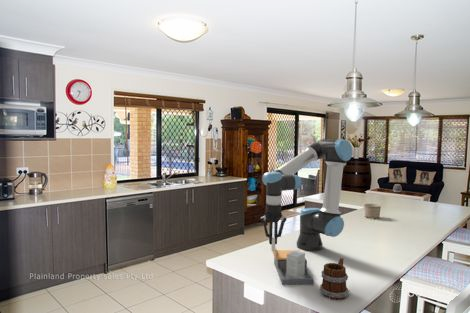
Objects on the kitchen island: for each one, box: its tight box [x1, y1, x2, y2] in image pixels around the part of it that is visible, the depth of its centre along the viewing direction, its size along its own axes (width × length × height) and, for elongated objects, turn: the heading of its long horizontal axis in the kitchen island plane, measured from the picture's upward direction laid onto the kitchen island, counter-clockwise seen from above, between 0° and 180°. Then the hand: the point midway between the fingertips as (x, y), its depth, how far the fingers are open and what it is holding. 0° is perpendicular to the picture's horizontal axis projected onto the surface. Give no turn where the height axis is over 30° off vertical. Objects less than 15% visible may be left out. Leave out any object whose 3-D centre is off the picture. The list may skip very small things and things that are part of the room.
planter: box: [363, 203, 382, 219], centre depth 274 cm, size 13×13×10 cm
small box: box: [286, 249, 306, 278], centre depth 155 cm, size 8×6×10 cm
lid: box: [272, 245, 301, 260], centre depth 166 cm, size 14×12×3 cm
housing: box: [273, 257, 315, 286], centre depth 160 cm, size 14×25×6 cm, turn 1°
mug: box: [319, 257, 350, 301], centre depth 140 cm, size 12×14×15 cm
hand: (272, 250), depth 166 cm, fingers closed
